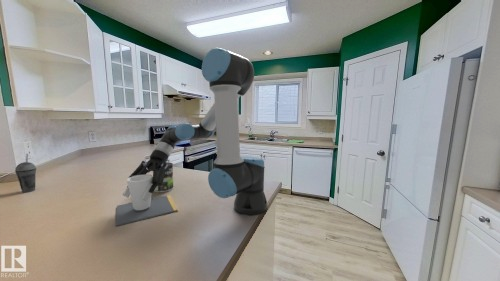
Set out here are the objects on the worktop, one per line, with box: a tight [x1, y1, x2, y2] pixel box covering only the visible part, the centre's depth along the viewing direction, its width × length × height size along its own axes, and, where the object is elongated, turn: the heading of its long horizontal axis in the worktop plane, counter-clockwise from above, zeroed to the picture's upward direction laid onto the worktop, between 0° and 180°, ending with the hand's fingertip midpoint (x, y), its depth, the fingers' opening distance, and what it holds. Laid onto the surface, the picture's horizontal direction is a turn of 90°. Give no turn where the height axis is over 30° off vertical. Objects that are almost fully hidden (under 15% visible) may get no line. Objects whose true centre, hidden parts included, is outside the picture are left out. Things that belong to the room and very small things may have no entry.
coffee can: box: [154, 161, 175, 193], centre depth 105 cm, size 10×10×14 cm
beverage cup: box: [14, 153, 37, 194], centre depth 99 cm, size 7×7×20 cm
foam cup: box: [126, 174, 153, 210], centre depth 81 cm, size 10×9×13 cm
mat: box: [115, 194, 179, 227], centre depth 83 cm, size 18×22×1 cm
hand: (134, 198), depth 78 cm, fingers open, 9 cm apart
